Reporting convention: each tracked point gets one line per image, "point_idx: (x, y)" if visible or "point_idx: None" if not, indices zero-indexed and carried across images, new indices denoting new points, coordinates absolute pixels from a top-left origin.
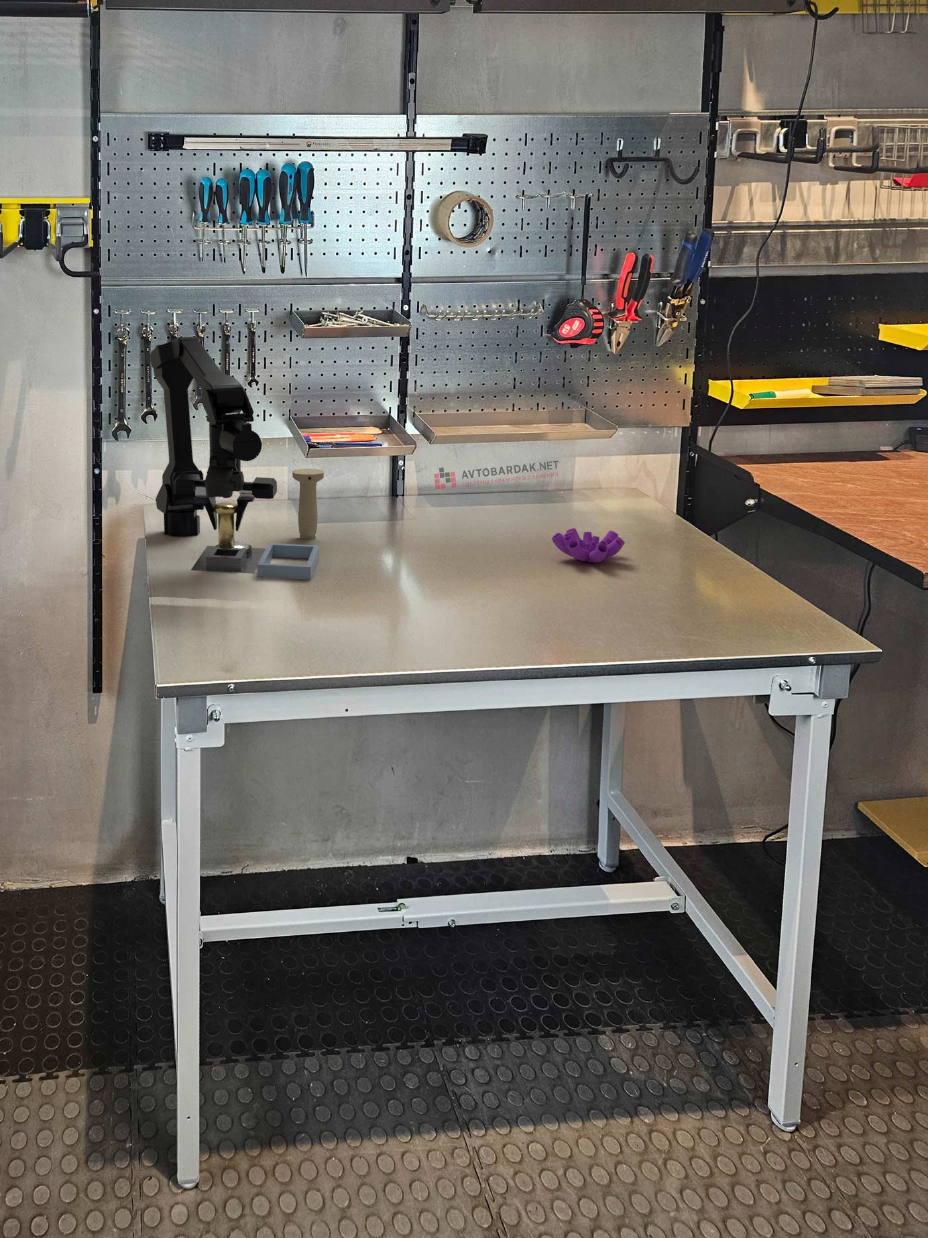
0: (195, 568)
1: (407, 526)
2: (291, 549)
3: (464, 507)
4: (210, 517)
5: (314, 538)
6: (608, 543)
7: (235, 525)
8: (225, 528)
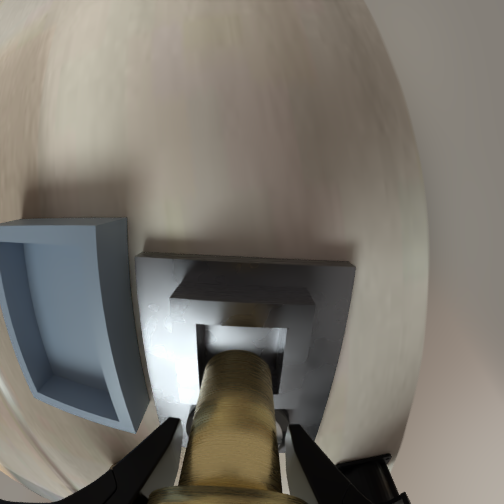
0: (341, 285)
1: (51, 472)
2: (82, 402)
3: (47, 489)
4: (331, 469)
5: (109, 469)
6: None
7: (172, 436)
8: (229, 417)
